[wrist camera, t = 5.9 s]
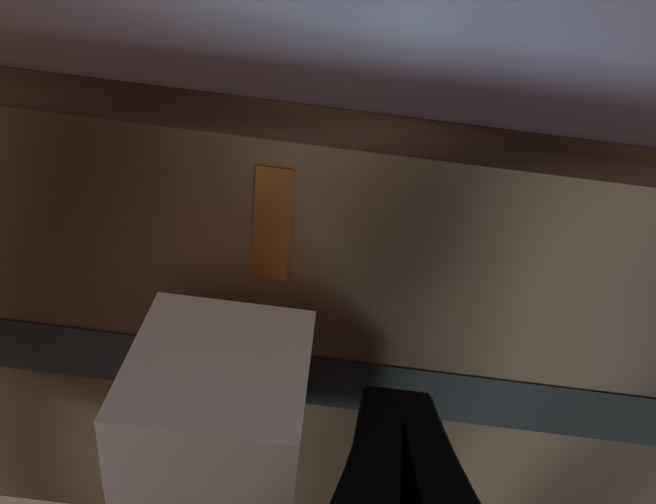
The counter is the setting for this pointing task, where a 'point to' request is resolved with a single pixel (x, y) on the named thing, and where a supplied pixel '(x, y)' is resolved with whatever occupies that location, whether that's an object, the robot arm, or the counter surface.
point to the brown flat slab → (332, 277)
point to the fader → (207, 405)
